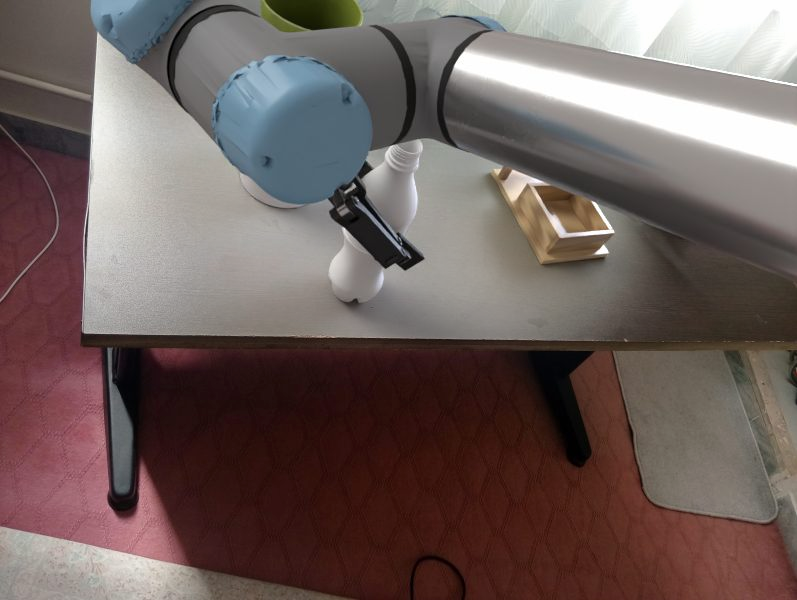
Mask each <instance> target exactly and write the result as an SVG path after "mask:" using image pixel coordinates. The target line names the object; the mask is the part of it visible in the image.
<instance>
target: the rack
mask: <svg viewBox="0 0 797 600" xmlns="http://www.w3.org/2000/svg"><path fill="white" fill-rule="evenodd" d="M490 174H491V176H492V178H493V180H494V181H495V183H496V185H497V187H498V189H499V190H500V192H501V194H502V196H503V198H504V200H505V202H506V203H507V205H508V207H509V209H510V211H511V212H512V214H513V216H514V218H515V220H516V222H517V223H518V225H519V227H520V229H521V231H522V233H523V235H524V236H525V238H526V240H527V242H528V244H529V245H530V247H531V250H532V251H533V253H534V255H535V256H536V258H537V260H538V261H539V264H540V265H547V264H557V263H565V262H573V261H581V260H591V259H597V258H606V257H607V256H609V254H610V251H609V250H608V249H607V247H606V243H607V242H608V241H609V240H610V239H611V238H612V237H613V236H614V235H616V232H615V230H614V228H613V227H612V226H611V224H610V222H609V221H608V220H607V218H606V216H605V214H604V213H603V212H602V210H601V209H600V207H599V205H598V204H597V203H595V202H592V201H590V200H587V199H585V198H582V197H580V196H577V195H575V194H572V193H570V192H567V191H565V190H562V189H560V188H557V187H555V186H552V185H550V184H547V183H545V182H542V181H540V180H537V179H535V178H532V177H530V176H527V175H525V174H522V173H520V172H517V171H515V170H512V169H510V168H507V167H505V166H502V168H493V169H492V170H491V172H490Z"/></svg>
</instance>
